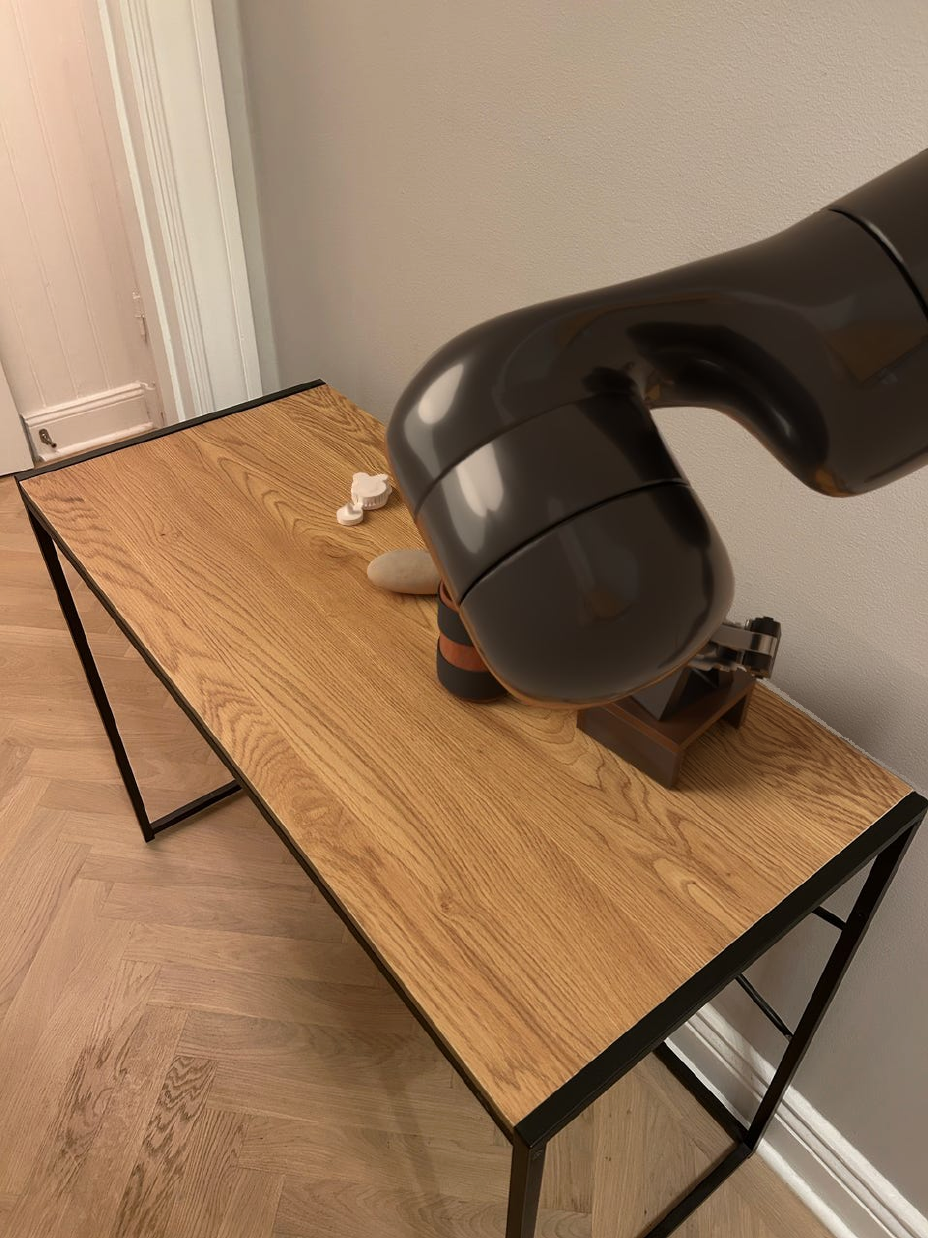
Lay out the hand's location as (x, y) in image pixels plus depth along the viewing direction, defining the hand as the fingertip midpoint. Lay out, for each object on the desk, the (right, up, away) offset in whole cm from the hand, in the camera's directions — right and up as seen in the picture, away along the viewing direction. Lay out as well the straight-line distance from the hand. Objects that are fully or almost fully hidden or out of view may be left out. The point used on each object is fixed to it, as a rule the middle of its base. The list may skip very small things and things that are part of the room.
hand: (651, 634), depth 57 cm
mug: (-8, -5, +39) cm, 41 cm away
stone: (-16, +4, +50) cm, 52 cm away
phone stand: (+8, -5, +29) cm, 31 cm away
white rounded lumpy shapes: (-24, +16, +64) cm, 70 cm away
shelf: (+8, -9, +33) cm, 35 cm away
